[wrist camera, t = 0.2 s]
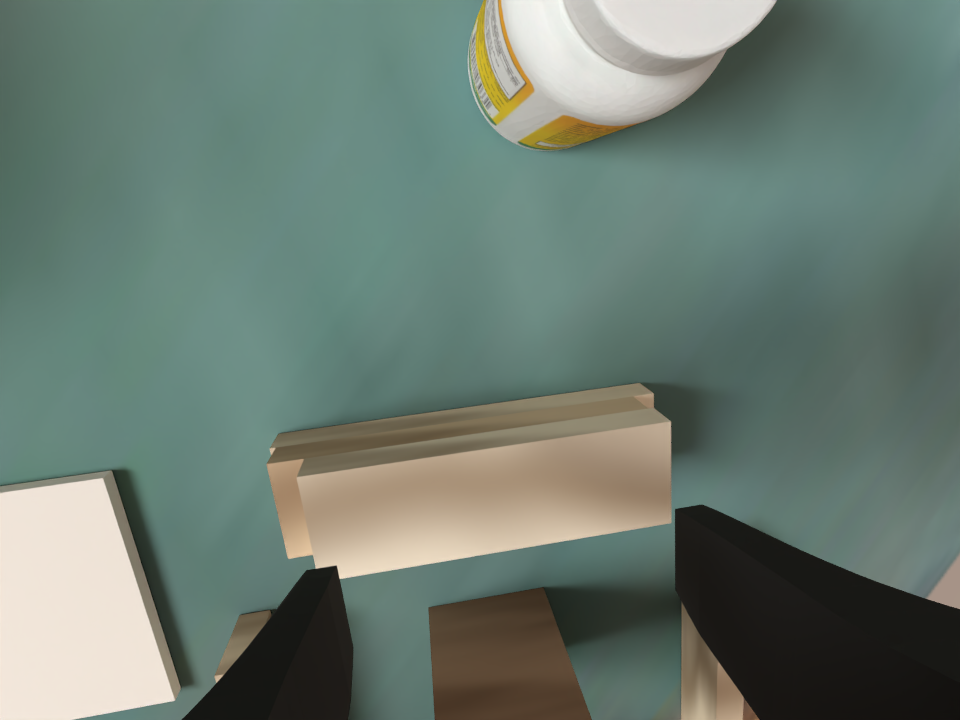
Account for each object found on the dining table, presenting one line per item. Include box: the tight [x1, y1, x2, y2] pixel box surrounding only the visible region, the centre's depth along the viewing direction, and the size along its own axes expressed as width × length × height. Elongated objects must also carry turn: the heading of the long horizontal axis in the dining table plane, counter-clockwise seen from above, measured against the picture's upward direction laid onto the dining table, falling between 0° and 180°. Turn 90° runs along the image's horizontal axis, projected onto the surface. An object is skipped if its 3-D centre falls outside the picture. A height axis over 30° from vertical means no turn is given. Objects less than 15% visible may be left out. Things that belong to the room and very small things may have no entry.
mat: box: [0, 470, 181, 720], centre depth 20 cm, size 10×10×1 cm
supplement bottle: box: [468, 0, 777, 151], centre depth 13 cm, size 5×5×10 cm
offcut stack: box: [267, 383, 671, 579], centre depth 20 cm, size 4×14×4 cm, turn 95°
